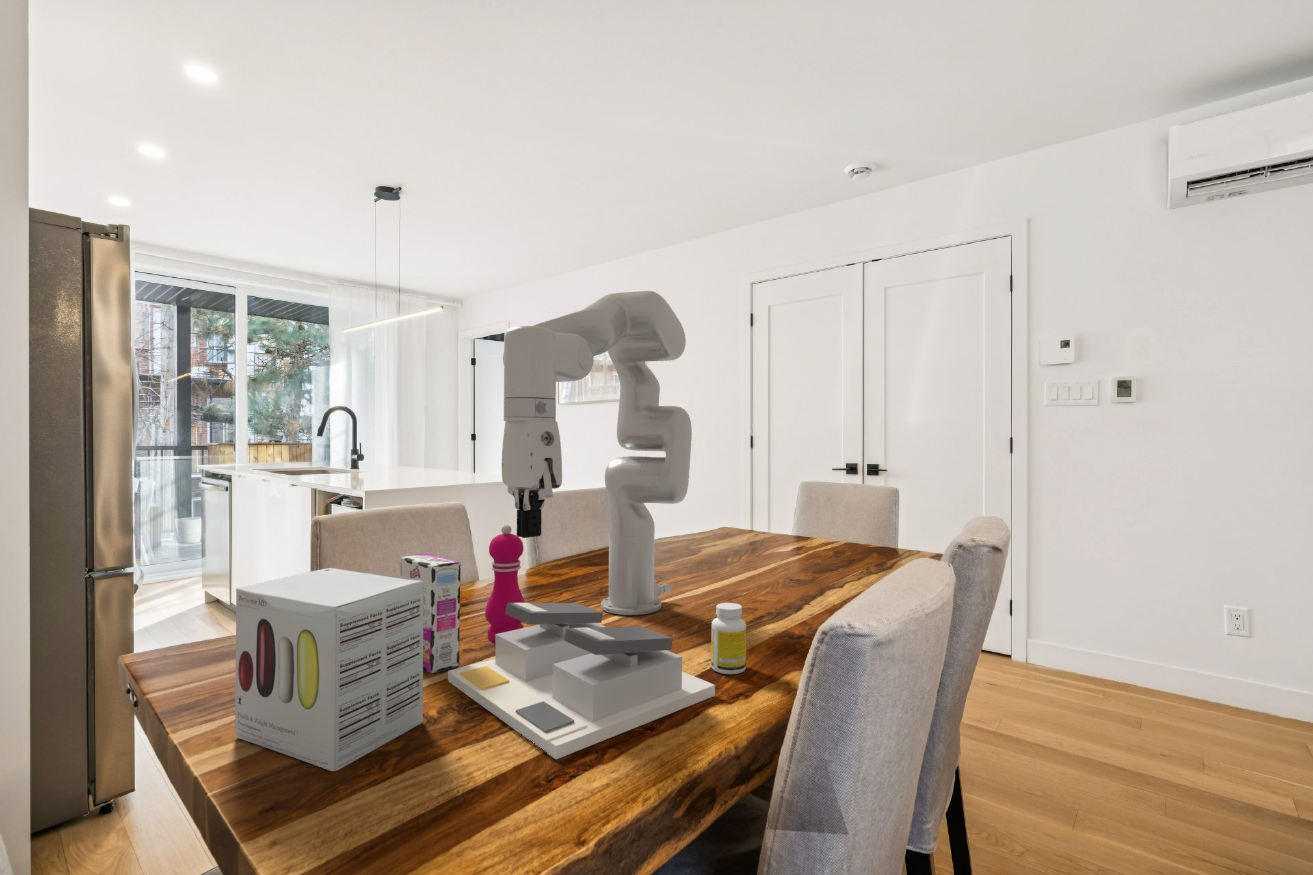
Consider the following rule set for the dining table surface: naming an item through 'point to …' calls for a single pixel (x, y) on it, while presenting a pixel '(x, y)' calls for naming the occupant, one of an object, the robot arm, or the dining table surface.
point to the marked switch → (553, 613)
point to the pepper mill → (504, 582)
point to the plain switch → (617, 639)
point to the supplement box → (328, 664)
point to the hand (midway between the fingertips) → (529, 536)
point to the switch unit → (575, 688)
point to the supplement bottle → (728, 640)
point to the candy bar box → (437, 608)
